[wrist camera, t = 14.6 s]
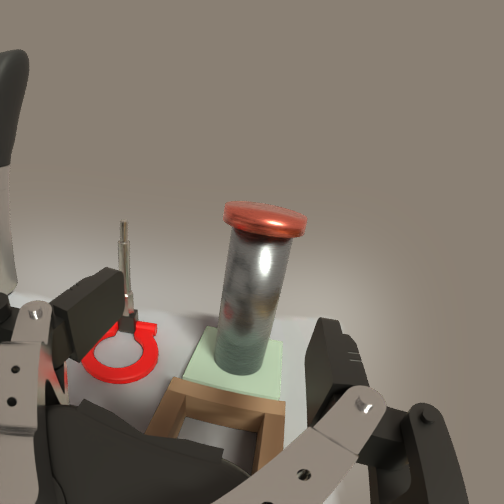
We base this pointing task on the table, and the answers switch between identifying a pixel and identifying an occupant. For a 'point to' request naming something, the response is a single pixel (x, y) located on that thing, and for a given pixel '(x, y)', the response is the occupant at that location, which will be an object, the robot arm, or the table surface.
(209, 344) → the sage mat
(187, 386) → the brown square frame
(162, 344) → the table surface
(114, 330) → the tow hook
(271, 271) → the steel peg
